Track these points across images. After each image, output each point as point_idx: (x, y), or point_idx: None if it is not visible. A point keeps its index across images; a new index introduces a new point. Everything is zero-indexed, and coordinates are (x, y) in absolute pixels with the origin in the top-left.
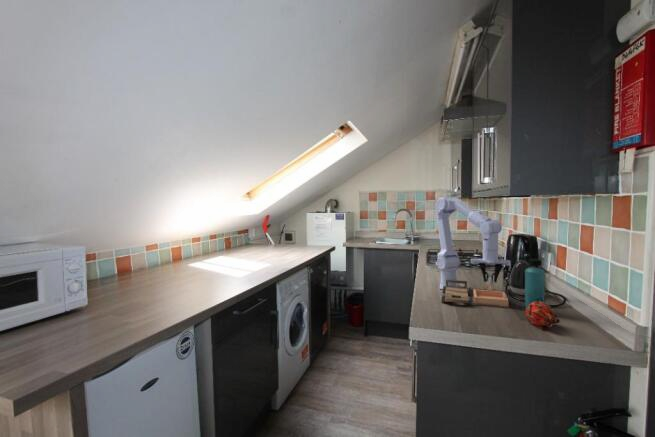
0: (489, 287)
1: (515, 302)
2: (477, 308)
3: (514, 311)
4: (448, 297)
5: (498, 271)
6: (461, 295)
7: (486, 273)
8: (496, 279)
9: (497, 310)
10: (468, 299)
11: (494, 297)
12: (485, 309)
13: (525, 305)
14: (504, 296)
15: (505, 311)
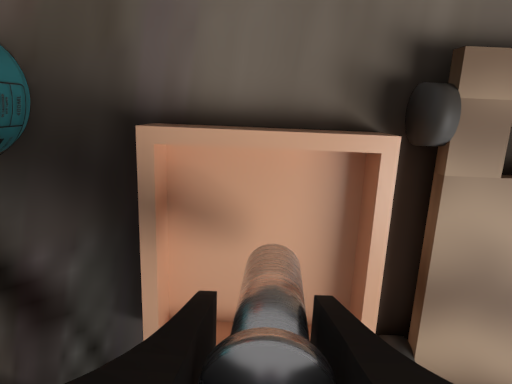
0: (273, 256)
1: (95, 259)
2: (376, 38)
3: (123, 46)
4: None
5: (123, 371)
6: (494, 192)
7: (331, 372)
8: (190, 302)
9: (238, 32)
10: (457, 91)
11: (222, 298)
12: (321, 30)
13: (23, 84)
14: (155, 226)
15: (184, 25)
